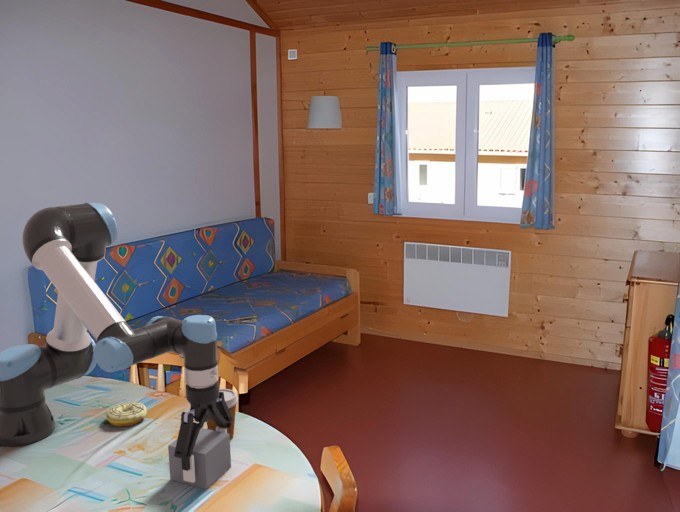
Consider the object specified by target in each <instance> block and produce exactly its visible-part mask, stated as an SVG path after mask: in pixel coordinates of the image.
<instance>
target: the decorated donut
mask: <svg viewBox="0 0 680 512" xmlns="http://www.w3.org/2000/svg"><path fill="white" fill-rule="evenodd" d="M147 412H148V410H147V407H146V405H144V404H143V403H141V402H124V403H119V404H116V405H114V406H112V407H110V408H109V409H108V410H107V411H106V415H105V416H106V419H107V421H108V422H109V423H110V425H112V426H115V427H120V428H121V427H128V426H129V425H130V426H133V425H136V424H138V423H140V422H139V421H142V420H144V419H145V418H146V417H147ZM143 418H144V419H143ZM137 422H138V423H137Z"/></svg>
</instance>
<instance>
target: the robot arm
mask: <svg viewBox="0 0 680 512" xmlns="http://www.w3.org/2000/svg"><path fill="white" fill-rule="evenodd" d="M116 220H117V219H115V216H114V214H113V212H112V211H111V210H110V209H109V208H108V207H107V206H106V205H105V204H103V203H99V202H84V203H79V204H70V205H60V206H49V207H48V206H47V207H44V208H42V209H39V210H38V211H36V212H35V213H33V214H32V215H31V217H29V219H28V220H27V221H26V224H25V225H24V228H23V232H22V239H21V240H22V246H23V247H22V248H23V250H24V254H25V255H26V257H27V259H28V261H29V262H30V263H31V265H32V266H33V267H34V268H35V269H36V270H39V271H43V274H45V275H46V277H47V279H49V281H50V282H51V283H52V285H53V286H54V288H56V290H57V291H58V292H57V299H56V305H55V307H56V308H55V314H54V321H53V322H54V324H53V328H52V329H51V330H50V331H49V332H47V334H46V338H45V344H44V345H42V346H38V345H37V344H31V343H26V344H22V345H19V344H18V345H15V346H12V347H8V348H7V349H5V350H2V351H1V352H0V446H3V447H18V446H24V445H29V444H32V443H36V442H39V441H41V440H43V439H45V438H47V437H48V436H50V435H51V434H52V433H54V431H55V429H56V422H55V418H54V415H53V414H52V412H51V410H50V408H49V406H48V404H47V402H46V396H45V391H46V390H48V389H51V388H53V387H56V386H60V385H63V384H66V383H68V382H72V381H75V380H78V379H80V378H82V377H84V376H86V375H89V374H90V373H91V372H92V371H94V369H95V368H96V365H97V366H98V367H99V368H100V369H101V370H103V371H105V372H107V373H113V372H117V371H121V370H122V371H123V370H127V369H128V368H131V367H132V366H134V365H136V364H139V363H142V362H145V361H147V360H151V359H154V358H156V357H159V356H162V355H165V354H168V353H174V354H178V355H183V360H184V364H183V365H184V383H185V384H186V385H185V396H186V397H185V398H186V401H187V402H188V403H189V404H190V408H189V410H188V411H186V412H185V411H182V412H181V414H180V415H181V416H180V427H179V431H178V434H177V435H178V436H177V444H176V448H175V453H174V457H178V458H181V462H182V470H183V480H184V481H188V482H192V483H194V482H195V466H194V455H191V454H192V451H193V448H194V446H195V443H196V440H197V437H198V434H199V431H200V429H201V428H204V425H205V423H207V422H206V421H207V420H208V419H210V418H212V419H213V421H214V422H215V423H216V424H217V425H218V426H220V427H216V431H218V432H223V433H227V428H230V427H231V423H229V422H231V421H232V416H231V413H230V411H229V409H228V406H227V404H226V402H225V399H224V392H220V391H219V389H220V382H219V366H218V364H219V361H218V332H217V325H216V320H215V318H213V317H212V316H211V315H207V314H195V315H189V316H187V317H185V318H184V319H183V320H180V319H176V318H174V317H170V316H162V315H158V316H157V315H156V316H154V317H151V319H149V321H147V322H146V324H145V325H144V326H141V327H137V328H132V327H131V326H130V325H129V324H128V322H127V321H126V320H125V318H123V316H122V315H121V313H119V311H118V310H117V308H116V307H115V306H114V305H113V303H112V302H111V300H110V299H109V298H108V297H107V296H106V294H105V293H104V292H103V291H102V289H101V288H100V287H99V285H98V284H97V283H96V281H95V280H96V273H97V266H98V262H100V261H102V260H103V259H104V258H105V254H106V248H107V246H108V247H109V246H112V245H113V244H114V243H116V241H117V239H118V235H119V231H118V230H119V228H118V224H117V221H116ZM91 336H92V337H93V338H92V337H91ZM194 421H195V422H194ZM187 450H188V452H187Z"/></svg>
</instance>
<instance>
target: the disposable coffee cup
mask: <svg viewBox="0 0 680 512" xmlns="http://www.w3.org/2000/svg"><path fill="white" fill-rule="evenodd" d="M219 391H220V392H224V399H225V402H226V404H227V406H228V409H229V411H230V413H231V416H232V421H231V422H229V423H231V427H230V428H227V433H228V434H230V441H231V440H232V439H233V438H234V432H235V422H236V410H237V403H238V401H239V397H238V395H237V393H236V392H235V391H234V390H232V389H229V388H219ZM205 423H206V427H207V429H209V430H213V431H216V427H220V426H218V425H217V424H216V423H215V422H214V421H213V419H212V418H210V419H208V420H207V421H206V422H205Z"/></svg>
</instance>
